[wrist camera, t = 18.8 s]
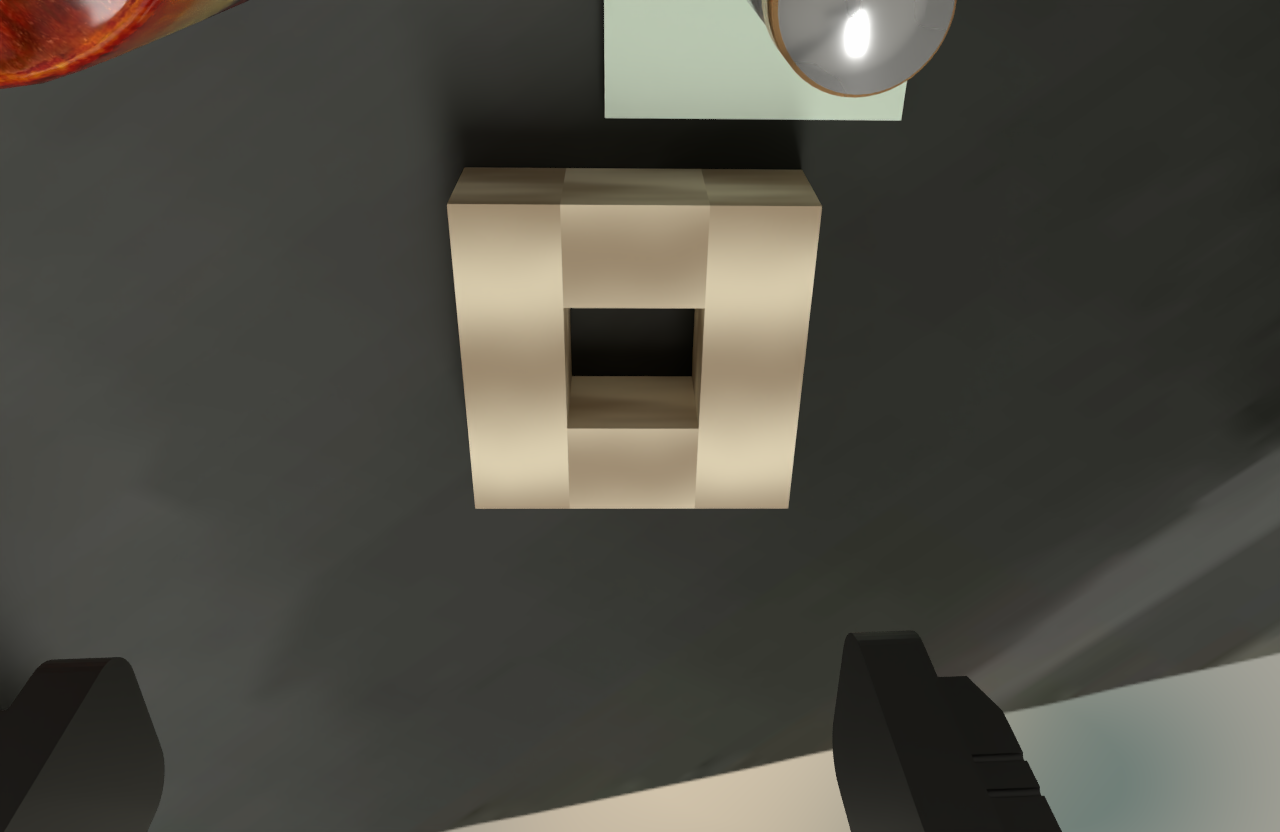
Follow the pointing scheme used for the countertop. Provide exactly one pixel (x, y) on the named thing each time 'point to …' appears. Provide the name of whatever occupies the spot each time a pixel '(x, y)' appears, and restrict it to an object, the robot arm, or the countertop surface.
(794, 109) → the pad
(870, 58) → the flashlight
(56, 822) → the robot arm
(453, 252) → the block
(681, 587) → the countertop surface
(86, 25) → the vase
